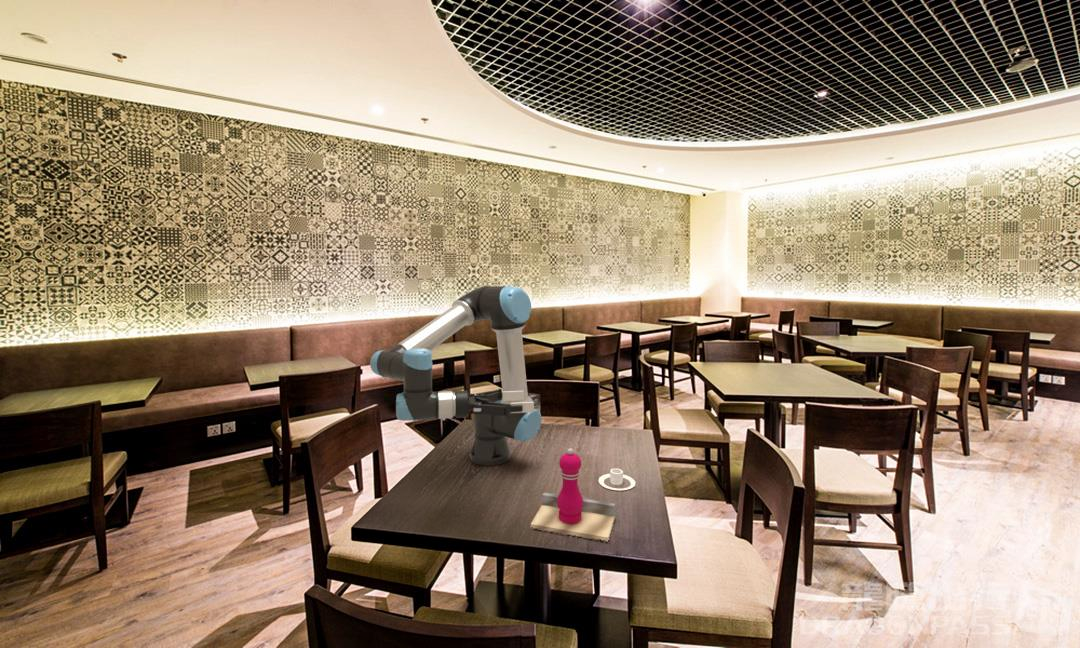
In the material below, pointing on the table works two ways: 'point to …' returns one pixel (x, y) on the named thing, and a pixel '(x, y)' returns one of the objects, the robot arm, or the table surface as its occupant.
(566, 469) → the pepper mill
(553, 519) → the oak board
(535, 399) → the coffee box
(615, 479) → the candle holder
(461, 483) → the table surface
